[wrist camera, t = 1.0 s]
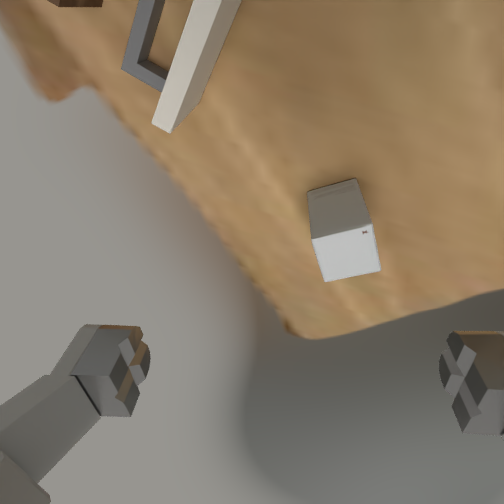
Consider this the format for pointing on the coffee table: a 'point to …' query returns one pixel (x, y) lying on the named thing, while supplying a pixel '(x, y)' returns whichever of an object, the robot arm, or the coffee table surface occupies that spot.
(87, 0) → the walnut panel
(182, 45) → the board
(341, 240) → the supplement box
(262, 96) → the coffee table surface
